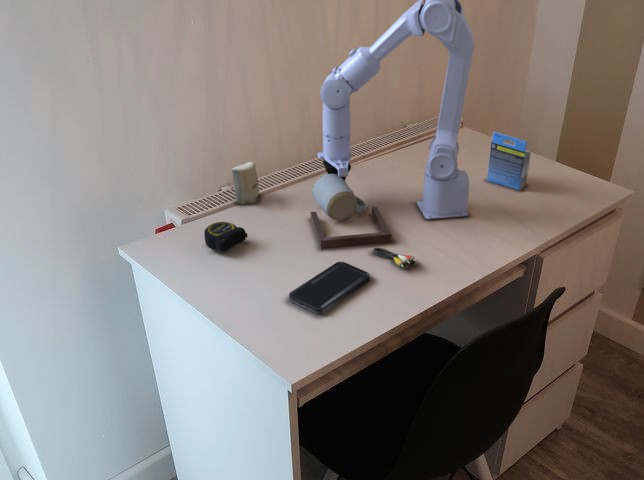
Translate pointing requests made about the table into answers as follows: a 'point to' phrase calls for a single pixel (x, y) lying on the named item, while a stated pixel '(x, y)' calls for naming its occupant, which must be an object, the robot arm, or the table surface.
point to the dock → (353, 240)
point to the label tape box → (508, 162)
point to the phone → (329, 287)
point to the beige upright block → (246, 183)
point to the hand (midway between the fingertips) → (336, 192)
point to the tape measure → (223, 236)
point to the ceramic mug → (336, 197)
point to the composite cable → (396, 257)
